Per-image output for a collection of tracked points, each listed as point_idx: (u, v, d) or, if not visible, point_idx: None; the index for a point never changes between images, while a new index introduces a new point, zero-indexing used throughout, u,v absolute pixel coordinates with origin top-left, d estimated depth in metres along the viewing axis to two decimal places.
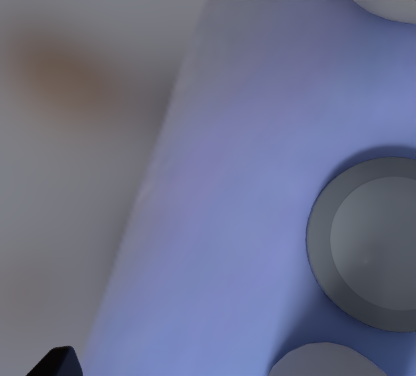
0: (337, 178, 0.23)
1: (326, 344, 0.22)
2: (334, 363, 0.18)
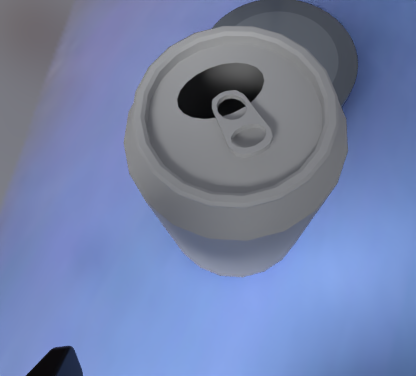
0: (218, 22, 0.26)
1: None
2: None
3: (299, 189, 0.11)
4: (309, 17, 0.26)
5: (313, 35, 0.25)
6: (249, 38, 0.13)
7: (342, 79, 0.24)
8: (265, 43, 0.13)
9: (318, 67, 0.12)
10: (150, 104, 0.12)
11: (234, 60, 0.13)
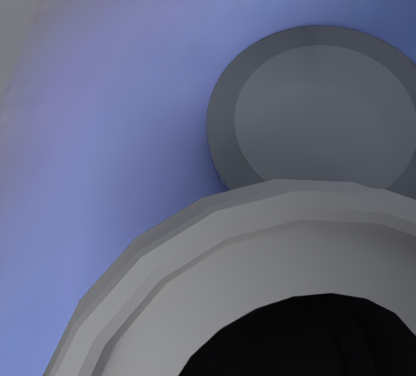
0: (234, 60, 0.18)
1: None
2: None
3: None
4: (368, 54, 0.17)
5: (376, 81, 0.17)
6: (371, 224, 0.04)
7: None
8: None
9: None
10: None
11: (327, 283, 0.04)
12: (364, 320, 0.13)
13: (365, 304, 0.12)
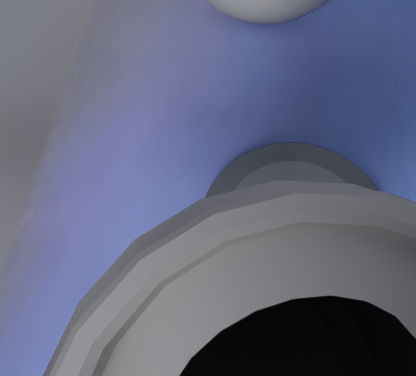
0: (222, 172, 0.22)
1: None
2: None
3: None
4: (333, 170, 0.21)
5: None
6: (371, 227, 0.04)
7: None
8: None
9: None
10: None
11: (326, 286, 0.04)
12: (364, 320, 0.13)
13: (365, 305, 0.12)
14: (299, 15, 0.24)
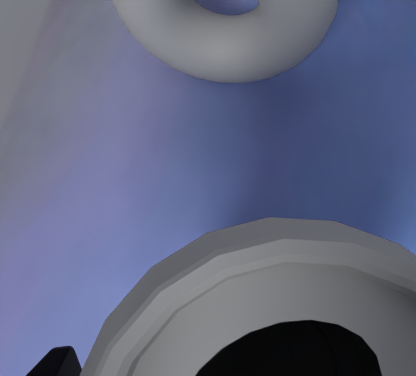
0: None
1: None
2: None
3: None
4: None
5: None
6: (342, 265, 0.05)
7: None
8: (381, 281, 0.05)
9: None
10: None
11: (307, 312, 0.06)
12: None
13: None
14: (271, 76, 0.19)
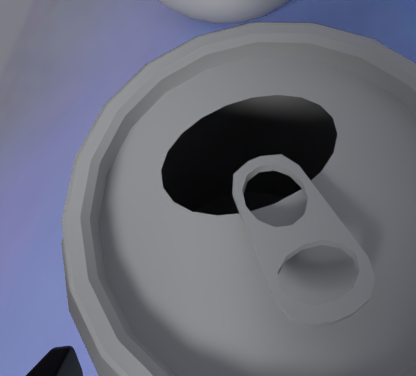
0: None
1: None
2: None
3: None
4: None
5: None
6: (305, 47, 0.06)
7: None
8: (338, 57, 0.06)
9: None
10: (108, 181, 0.06)
11: (275, 89, 0.06)
12: None
13: None
14: (263, 13, 0.20)
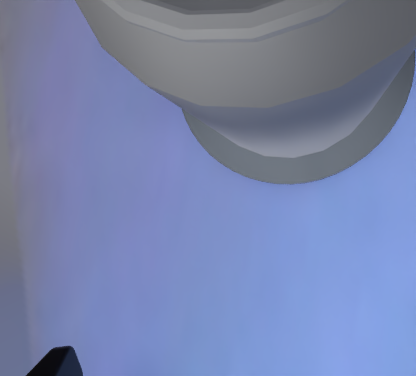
0: None
1: None
2: None
3: None
4: None
5: None
6: None
7: None
8: None
9: None
10: None
11: None
12: None
13: None
14: None
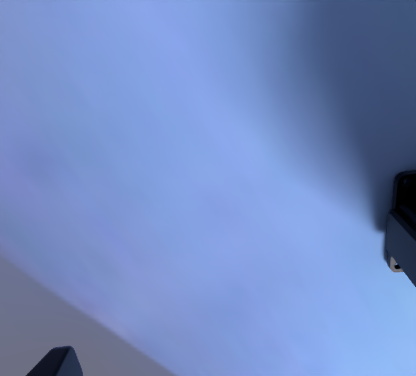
0: None
1: None
2: None
3: None
4: None
5: None
6: None
7: None
8: None
9: None
10: None
11: None
12: None
13: None
14: None
